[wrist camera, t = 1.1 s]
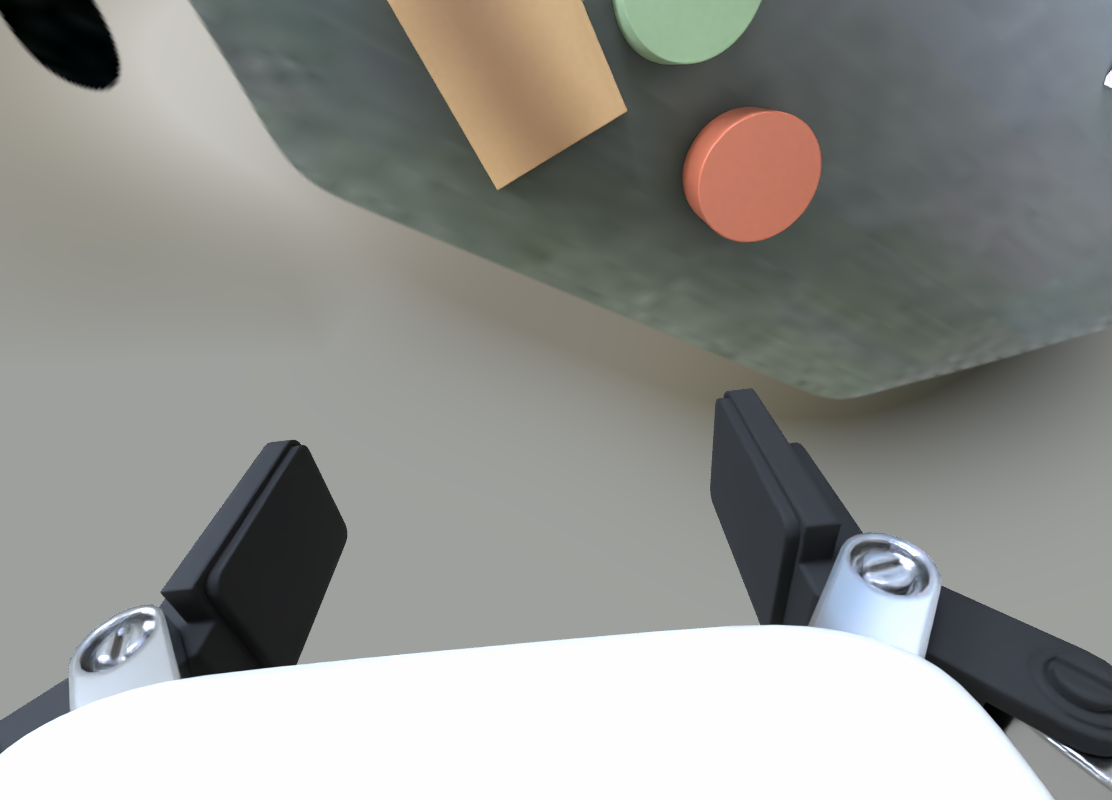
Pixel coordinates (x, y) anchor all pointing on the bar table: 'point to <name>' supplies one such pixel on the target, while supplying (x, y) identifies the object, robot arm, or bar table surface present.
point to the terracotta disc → (752, 172)
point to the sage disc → (683, 27)
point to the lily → (1108, 80)
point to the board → (515, 75)
